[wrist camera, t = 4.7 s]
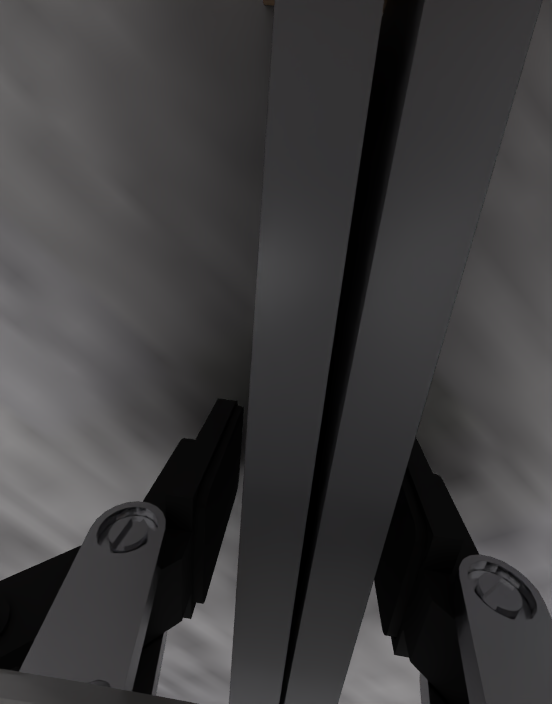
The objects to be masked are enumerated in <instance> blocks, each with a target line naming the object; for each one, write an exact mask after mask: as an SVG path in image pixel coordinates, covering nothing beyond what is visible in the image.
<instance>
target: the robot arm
mask: <svg viewBox="0 0 552 704" xmlns="http://www.w3.org/2000/svg"><path fill="white" fill-rule="evenodd" d="M243 413H244V407H242V406H238V402H237V401H234V400H226V399H218V400H217V402H216V404H215V405H214V407H213V409H212V411H211V413H210V414H209V416H208V418H207V420H206V422H205V423H204V425H203V427H202V429H201V431H200V433H199V434H198V436H197V438H196V440H192V439H186V438H184V439H182V440H181V441H180V442H179V444H178V445H177V447H176V449H175V450H174V452H173V454H172V455H171V457H170V458H169V460H168V462H167V463H166V465H165V467H164V468H163V470H162V471H161V473H160V475H159V476H158V478H157V479H156V481H155V483H154V484H153V486H152V488H151V489H150V491H149V492H148V494H147V496H146V497H145V499H144V500H143V502H140V501H137V502H127V503H124V504H120V505H117V506H115V507H113V508H111V509H109V510H107V511H106V512H104V513H103V514H102V515H101V516H100V517H98V518H97V519H96V521H95V522H94V523H93V525H92V526H91V528H90V530H89V532H88V534H87V536H86V538H85V540H84V542H83V544H82V545H81V546H79V547H76V548H74V549H72V550H70V551H67V552H65V553H63V554H60V555H58V556H56V557H54V558H51V559H49V560H47V561H45V562H42V563H40V564H38V565H35V566H33V567H31V568H29V569H26V570H24V571H22V572H20V573H17V574H15V575H13V576H10V577H8V578H6V579H4V580H1V581H0V704H197V703H192V702H186V701H181V700H175V699H170V698H165V697H159V696H156V691H157V686H158V681H159V676H160V670H161V665H162V660H163V654H164V649H165V644H166V638H167V630H169V629H170V628H172V627H173V626H175V625H176V624H178V623H179V622H181V621H182V619H183V618H189V619H191V617H192V614H193V611H194V608H195V605H196V602H197V603H202V604H203V603H204V602H205V599H206V596H207V592H208V589H209V586H210V582H211V579H212V575H213V572H214V568H215V565H216V562H217V558H218V555H219V551H220V548H221V544H222V541H223V538H224V534H225V531H226V527H227V524H228V520H229V517H230V514H231V510H232V507H233V503H234V500H235V496H236V493H237V489H238V482H239V470H240V455H241V441H242V427H243ZM374 582H375V588H376V594H377V600H378V606H379V612H380V618H381V624H382V630H383V633H384V635H387V636H391V639H392V645H393V650H394V655H398V656H404V657H409V659H410V662H411V663H412V664H413V665H414V666H415V667H416V668H417V669H418V670H419V671H420V693H421V704H552V618H551V616H550V613H549V611H548V609H547V606H546V604H545V602H544V600H543V598H542V597H541V595H540V593H539V591H538V590H537V589H536V588H535V586H534V585H533V584H532V583H531V582H530V581H529V580H528V579H527V578H526V577H525V576H524V575H523V574H521V573H520V572H519V571H518V570H517V569H515V568H513V567H512V566H510V565H508V564H507V563H505V562H503V561H501V560H498V559H496V558H493V557H491V556H485V555H480V554H479V553H478V551H477V549H476V547H475V545H474V543H473V541H472V539H471V537H470V535H469V533H468V531H467V529H466V527H465V525H464V523H463V520H462V518H461V516H460V514H459V512H458V510H457V508H456V506H455V504H454V502H453V500H452V498H451V496H450V494H449V492H448V490H447V488H446V486H445V484H444V482H443V480H442V479H441V477H440V476H439V475H437V474H433V473H432V471H431V469H430V466H429V464H428V462H427V460H426V458H425V456H424V454H423V451H422V449H421V447H420V445H419V443H418V441H417V439H416V437H415V440H414V444H413V447H412V450H411V454H410V457H409V461H408V464H407V468H406V471H405V474H404V478H403V481H402V485H401V488H400V492H399V495H398V499H397V502H396V505H395V509H394V512H393V516H392V519H391V523H390V526H389V529H388V533H387V536H386V540H385V543H384V547H383V550H382V554H381V557H380V560H379V564H378V567H377V571H376V574H375V578H374Z"/></svg>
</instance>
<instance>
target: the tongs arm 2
mask: <svg viewBox="0 0 552 704" xmlns="http://www.w3.org/2000/svg"><path fill="white" fill-rule="evenodd" d="M541 3H542V0H387V3H386V6H385V9H384V12H383V15H382V18H381V25H380V32H379V38H378V45H377V52H376V59H375V65H374V72H373V79H372V85H371V92H370V99H369V105H368V112H367V119H366V125H365V132H364V139H363V146H362V152H361V159H360V166H359V172H358V179H357V186H356V192H355V199H354V206H353V212H352V219H351V226H350V232H349V239H348V246H347V253H346V259H345V266H344V273H343V279H342V286H341V293H340V299H339V306H338V313H337V319H336V326H335V333H334V340H333V346H332V353H331V360H330V366H329V373H328V380H327V386H326V393H325V400H324V406H323V413H322V420H321V426H320V433H319V440H318V447H317V453H316V460H315V467H314V473H313V480H312V487H311V493H310V500H309V507H308V513H307V520H306V527H305V534H304V540H303V547H302V554H301V560H300V567H299V574H298V580H297V587H296V594H295V600H294V607H293V614H292V620H291V627H290V634H289V641H288V647H287V654H286V661H285V667H284V674H283V681H282V687H281V694H280V701H279V704H338V701H339V698H340V695H341V691H342V688H343V684H344V681H345V677H346V674H347V670H348V667H349V664H350V660H351V657H352V653H353V650H354V646H355V643H356V639H357V636H358V633H359V629H360V626H361V622H362V619H363V615H364V612H365V609H366V605H367V602H368V598H369V595H370V591H371V588H372V584H373V581H374V578H375V574H376V571H377V567H378V564H379V560H380V557H381V554H382V550H383V547H384V543H385V540H386V536H387V533H388V529H389V526H390V523H391V519H392V516H393V512H394V509H395V505H396V502H397V499H398V495H399V492H400V488H401V485H402V481H403V478H404V474H405V471H406V468H407V464H408V461H409V457H410V454H411V450H412V447H413V444H414V440H415V437H416V433H417V430H418V426H419V423H420V419H421V416H422V413H423V409H424V406H425V402H426V399H427V395H428V392H429V388H430V385H431V382H432V378H433V375H434V371H435V368H436V364H437V361H438V358H439V354H440V351H441V347H442V344H443V340H444V337H445V333H446V330H447V327H448V323H449V320H450V316H451V313H452V309H453V306H454V303H455V299H456V296H457V292H458V289H459V285H460V282H461V278H462V275H463V272H464V268H465V265H466V261H467V258H468V254H469V251H470V248H471V244H472V241H473V237H474V234H475V230H476V227H477V223H478V220H479V217H480V213H481V210H482V206H483V203H484V199H485V196H486V193H487V189H488V186H489V182H490V179H491V175H492V172H493V168H494V165H495V162H496V158H497V155H498V151H499V148H500V144H501V141H502V137H503V134H504V131H505V127H506V124H507V120H508V117H509V113H510V110H511V107H512V103H513V100H514V96H515V93H516V89H517V86H518V82H519V79H520V76H521V72H522V69H523V65H524V62H525V58H526V55H527V52H528V48H529V45H530V41H531V38H532V34H533V31H534V27H535V24H536V21H537V17H538V14H539V10H540V7H541Z"/></svg>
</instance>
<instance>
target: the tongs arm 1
mask: <svg viewBox="0 0 552 704" xmlns="http://www.w3.org/2000/svg"><path fill="white" fill-rule="evenodd" d="M383 5H384V0H275V4H274V19H273V34H272V50H271V65H270V81H269V96H268V111H267V127H266V142H265V158H264V173H263V188H262V204H261V219H260V235H259V250H258V265H257V281H256V296H255V312H254V327H253V342H252V358H251V373H250V388H249V404H248V419H247V435H246V450H245V465H244V481H243V496H242V512H241V527H240V542H239V558H238V573H237V589H236V604H235V619H234V635H233V650H232V666H231V681H230V696H229V704H279V701H280V694H281V687H282V681H283V674H284V667H285V661H286V654H287V647H288V641H289V634H290V627H291V620H292V614H293V607H294V600H295V594H296V587H297V580H298V574H299V567H300V560H301V554H302V547H303V540H304V534H305V527H306V520H307V513H308V507H309V500H310V493H311V487H312V480H313V473H314V467H315V460H316V453H317V447H318V440H319V433H320V426H321V420H322V413H323V406H324V400H325V393H326V386H327V380H328V373H329V366H330V360H331V353H332V346H333V340H334V333H335V326H336V319H337V313H338V306H339V299H340V293H341V286H342V279H343V273H344V266H345V259H346V253H347V246H348V239H349V232H350V226H351V219H352V212H353V206H354V199H355V192H356V186H357V179H358V172H359V166H360V159H361V152H362V146H363V139H364V132H365V125H366V119H367V112H368V105H369V99H370V92H371V85H372V79H373V72H374V65H375V59H376V52H377V45H378V38H379V32H380V25H381V18H382V12H383Z"/></svg>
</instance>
